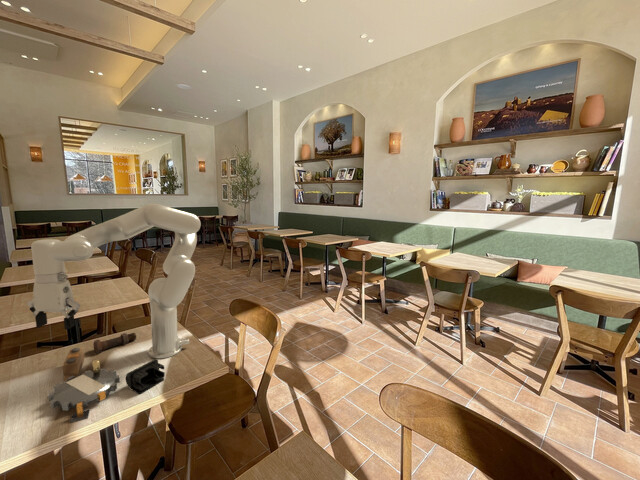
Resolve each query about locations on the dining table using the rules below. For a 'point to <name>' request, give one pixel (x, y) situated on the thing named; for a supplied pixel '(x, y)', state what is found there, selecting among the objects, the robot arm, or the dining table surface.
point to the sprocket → (84, 388)
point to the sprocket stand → (80, 413)
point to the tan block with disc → (73, 363)
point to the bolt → (113, 342)
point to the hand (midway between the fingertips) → (55, 326)
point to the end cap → (145, 377)
